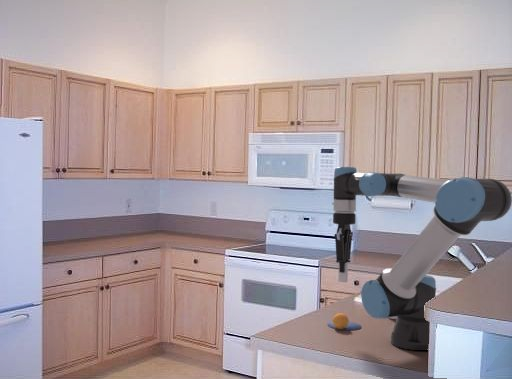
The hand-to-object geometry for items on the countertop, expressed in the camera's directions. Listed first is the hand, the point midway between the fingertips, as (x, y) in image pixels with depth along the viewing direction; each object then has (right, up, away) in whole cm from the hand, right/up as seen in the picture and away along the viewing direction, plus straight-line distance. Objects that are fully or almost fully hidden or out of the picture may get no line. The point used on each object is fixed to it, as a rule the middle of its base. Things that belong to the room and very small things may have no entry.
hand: (342, 281), depth 192 cm
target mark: (+2, -18, +11) cm, 21 cm away
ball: (0, -15, +7) cm, 16 cm away
